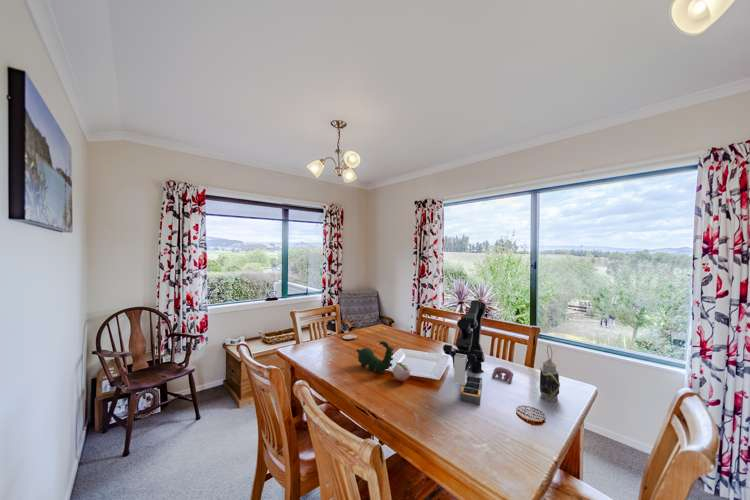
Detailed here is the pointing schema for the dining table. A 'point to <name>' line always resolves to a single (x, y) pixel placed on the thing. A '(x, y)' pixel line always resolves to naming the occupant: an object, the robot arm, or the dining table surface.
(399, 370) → the decorative fruit
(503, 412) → the dining table surface
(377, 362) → the toy figurine
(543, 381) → the lantern
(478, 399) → the rack
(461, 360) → the light grey block
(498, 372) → the video game controller
